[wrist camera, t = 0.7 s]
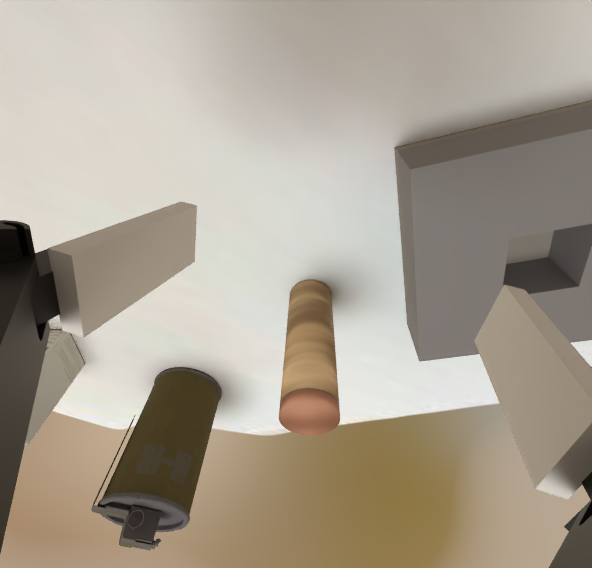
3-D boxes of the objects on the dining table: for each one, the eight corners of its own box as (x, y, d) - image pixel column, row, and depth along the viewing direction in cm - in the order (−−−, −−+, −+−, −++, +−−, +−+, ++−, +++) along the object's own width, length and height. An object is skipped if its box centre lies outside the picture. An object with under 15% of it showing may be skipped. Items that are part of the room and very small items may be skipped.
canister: (230, 380, 51) (192, 540, 35) (210, 414, 56) (169, 564, 40) (160, 357, 48) (83, 518, 32) (146, 395, 54) (75, 547, 38)
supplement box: (69, 328, 45) (-1, 413, 35) (86, 364, 50) (28, 448, 40) (15, 324, 45) (-71, 407, 35) (37, 360, 50) (-34, 443, 40)
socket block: (394, 147, 29) (410, 169, 25) (686, 77, 25) (773, 87, 21) (407, 324, 42) (419, 361, 37) (604, 295, 38) (646, 333, 33)
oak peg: (285, 283, 39) (271, 404, 26) (327, 276, 38) (334, 398, 25) (295, 314, 42) (287, 437, 29) (334, 308, 41) (344, 432, 28)
